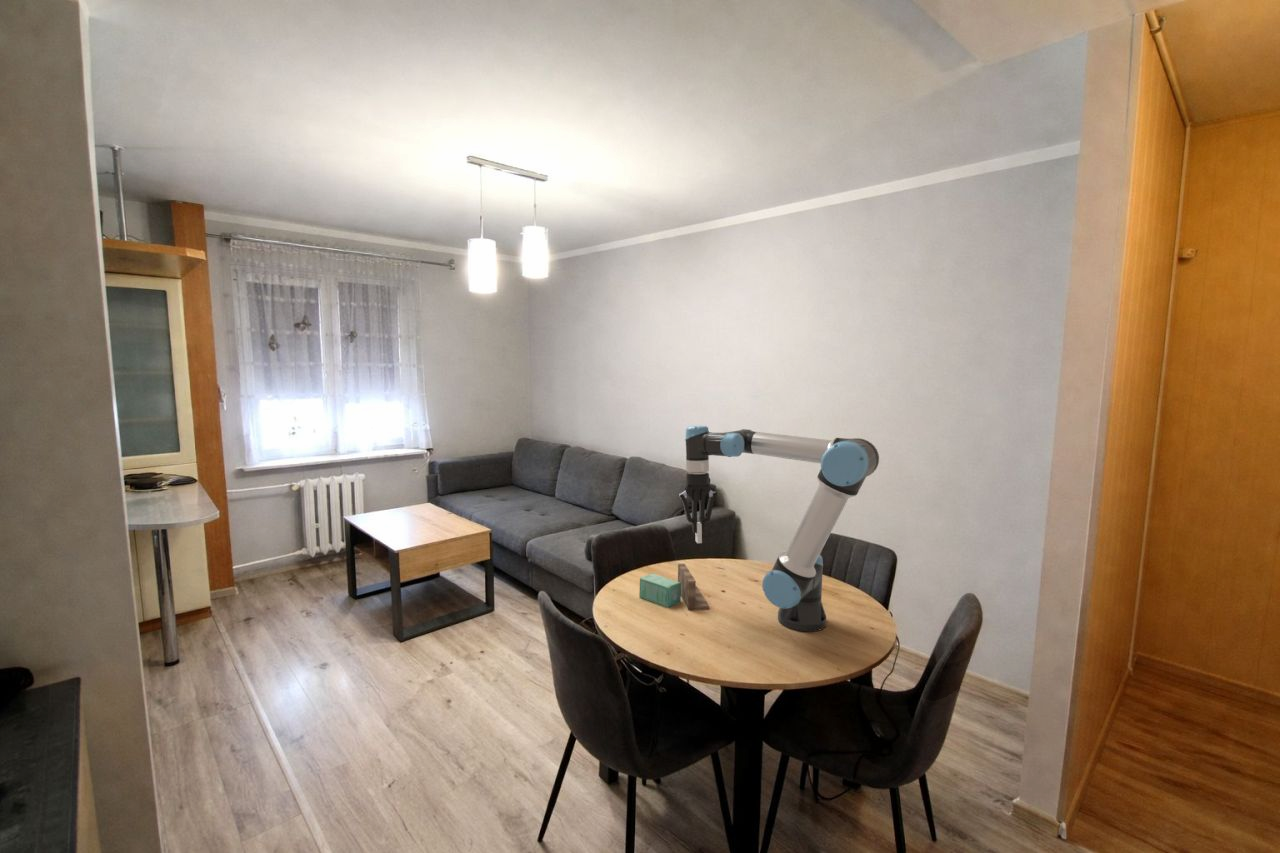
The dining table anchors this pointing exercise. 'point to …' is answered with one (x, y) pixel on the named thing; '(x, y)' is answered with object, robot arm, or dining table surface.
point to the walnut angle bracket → (690, 590)
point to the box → (660, 590)
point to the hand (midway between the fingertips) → (698, 542)
